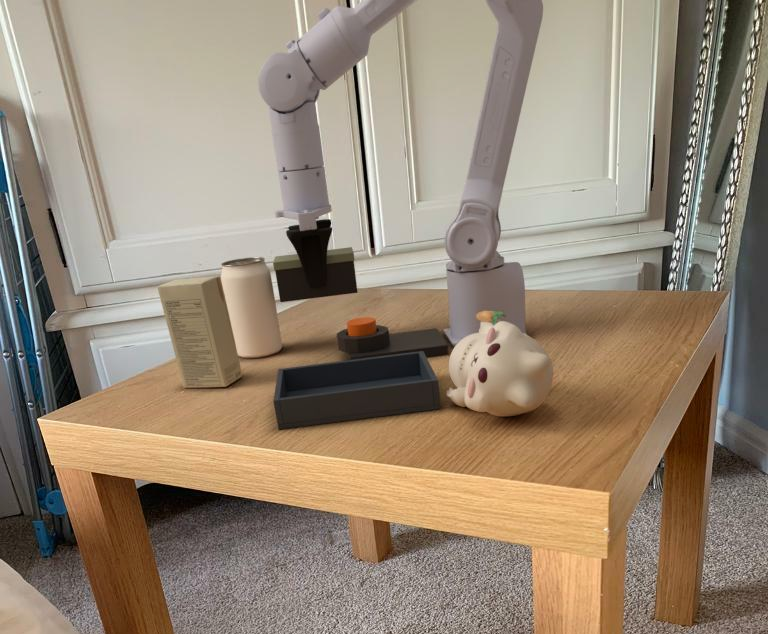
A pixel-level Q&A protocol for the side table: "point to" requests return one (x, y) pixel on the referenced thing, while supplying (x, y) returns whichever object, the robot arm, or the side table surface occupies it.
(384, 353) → the control block
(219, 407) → the side table surface
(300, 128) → the robot arm
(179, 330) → the cosmetic box
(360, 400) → the tray
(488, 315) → the cat figurine
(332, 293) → the green-topped black block
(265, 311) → the can
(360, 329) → the button
